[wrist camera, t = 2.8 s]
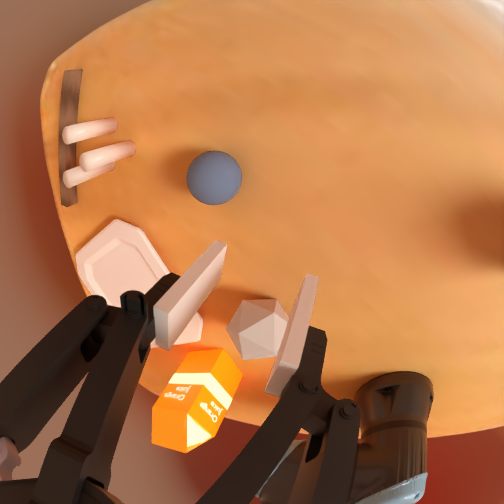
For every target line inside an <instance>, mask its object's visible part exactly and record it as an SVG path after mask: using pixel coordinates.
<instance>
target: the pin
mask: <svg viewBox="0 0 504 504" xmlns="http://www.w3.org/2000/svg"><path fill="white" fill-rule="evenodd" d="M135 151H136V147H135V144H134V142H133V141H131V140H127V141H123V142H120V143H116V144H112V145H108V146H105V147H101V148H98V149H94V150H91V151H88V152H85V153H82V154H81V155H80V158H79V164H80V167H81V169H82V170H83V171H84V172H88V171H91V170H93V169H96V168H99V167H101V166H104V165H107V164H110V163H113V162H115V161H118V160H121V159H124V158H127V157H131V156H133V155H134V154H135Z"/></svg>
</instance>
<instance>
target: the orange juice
mask: <svg viewBox="0 0 504 504" xmlns="http://www.w3.org/2000/svg"><path fill="white" fill-rule="evenodd" d="M242 376H243V374H242V373H241V371H240V370H239V369H238V367H237V366H236V365H235V363H234V362H233V361H232V359H231V358H230V357H229V355H228V354H227V353H226V351H225V350H224V348H223V349H213V350H203V351H191V352H189V353H188V354H187V356H186V357H185V359H184V360H183V362H182V363H181V365H180V366H179V368H178V369H177V371H176V373H175V374H174V375H173V377H172V378H171V380H170V381H169V383H168V385H167V386H166V388H165V389H164V391H163V392H162V394H161V395H160V397H159V399H158V400H157V402H156V403H155V405H154V406H153V411H152V415H153V416H152V443H153V444H157V445H160V446H163V447H167V448H170V449H173V450H177V451H181V452H185V453H187V452H188V451H190V450H192V449H193V448H195V447H197V446H199V445H201V444H202V443H204V442H206V441H207V440H209V439H211V438H212V437H215V435H216V432H217V430H218V428H219V426H220V424H221V422H222V419H223V418H224V415H225V413H226V411H227V410H228V408H229V405H230V403H231V401H232V398H233V396H234V394H235V392H236V389H237V387H238V385H239V383H240V380H241V378H242Z"/></svg>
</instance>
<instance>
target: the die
mask: <svg viewBox="0 0 504 504" xmlns="http://www.w3.org/2000/svg"><path fill="white" fill-rule="evenodd" d="M288 320H289V317H288V316H287V314H286V313H285V311H284V309H283V308H282V306H281V305H280V303H279V302H278V300H277V299H259V300H242V302H241V304H240V305H239V307H238V309H237V310H236V312H235V314H234V316H233V317H232V319H231V321H230V323H229V324H228V326H227V328H226V330H227V332H228V334H229V335H230V337H231V339H232V341H233V343H234V344H235V346H236V348H237V350H238V351H239V353H240V355H241V357H242V358H243V360H249V359H259V358H267V357H276V356H277V353H278V351H279V348H280V345H281V342H282V339H283V336H284V333H285V330H286V326H287V323H288Z"/></svg>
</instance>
